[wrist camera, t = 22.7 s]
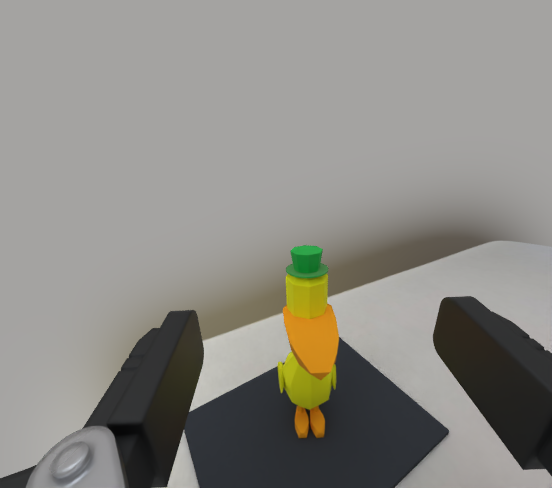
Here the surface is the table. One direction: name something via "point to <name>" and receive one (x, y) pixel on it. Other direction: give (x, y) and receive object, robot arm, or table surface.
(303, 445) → the rubber pad
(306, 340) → the toy figure
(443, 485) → the table surface
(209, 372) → the table surface
